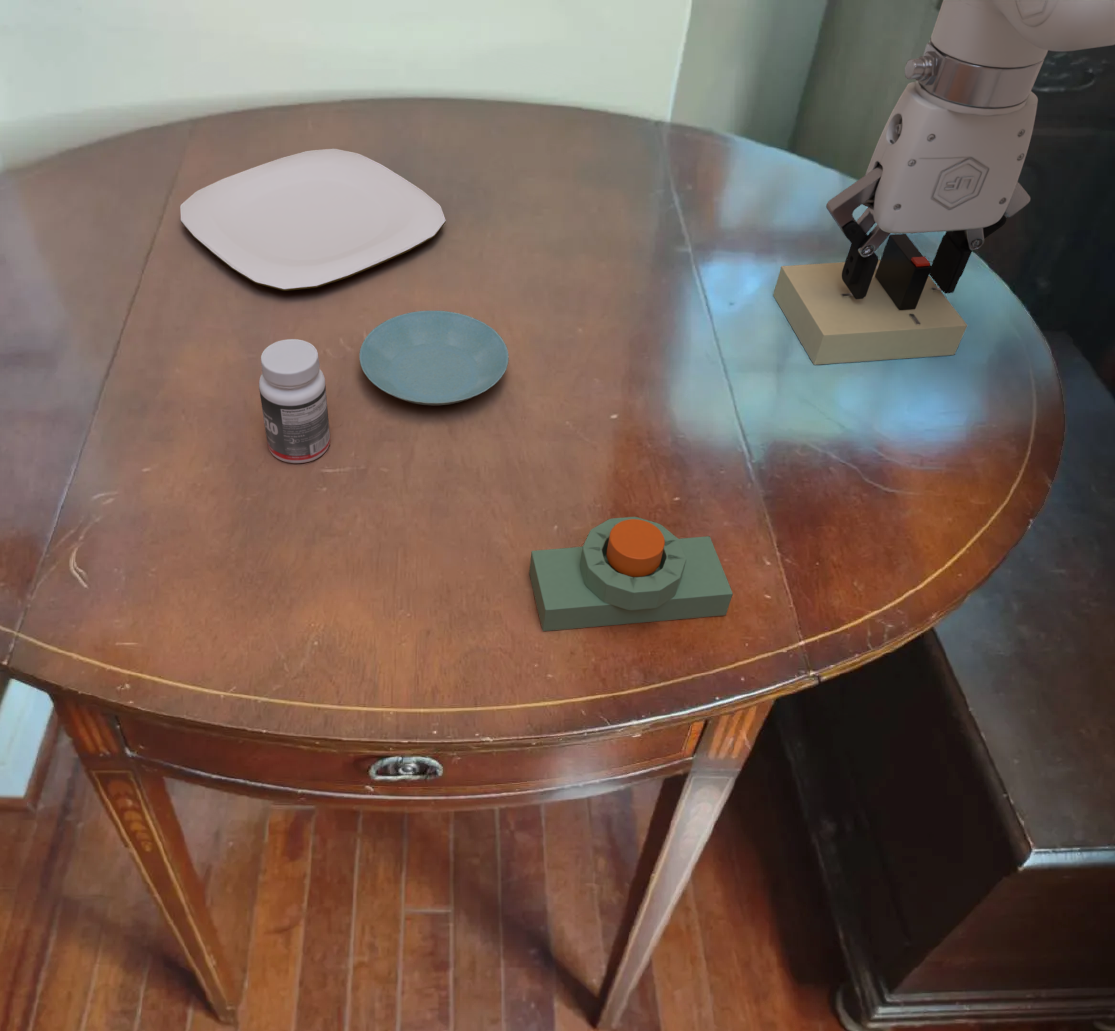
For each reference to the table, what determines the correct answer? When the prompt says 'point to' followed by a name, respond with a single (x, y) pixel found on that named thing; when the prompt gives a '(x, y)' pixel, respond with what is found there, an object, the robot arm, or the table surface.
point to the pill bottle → (294, 401)
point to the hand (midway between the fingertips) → (897, 285)
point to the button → (635, 547)
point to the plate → (311, 218)
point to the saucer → (434, 357)
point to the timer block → (627, 583)
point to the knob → (903, 271)
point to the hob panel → (863, 318)
